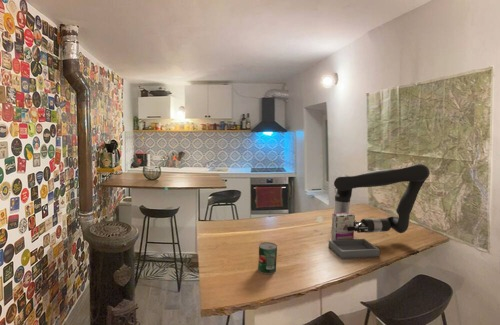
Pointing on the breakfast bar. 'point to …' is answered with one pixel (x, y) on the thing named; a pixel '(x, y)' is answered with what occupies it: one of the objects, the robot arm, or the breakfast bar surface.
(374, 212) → the breakfast bar surface
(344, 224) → the candy bar box
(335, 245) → the tray
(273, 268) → the canned tomato
